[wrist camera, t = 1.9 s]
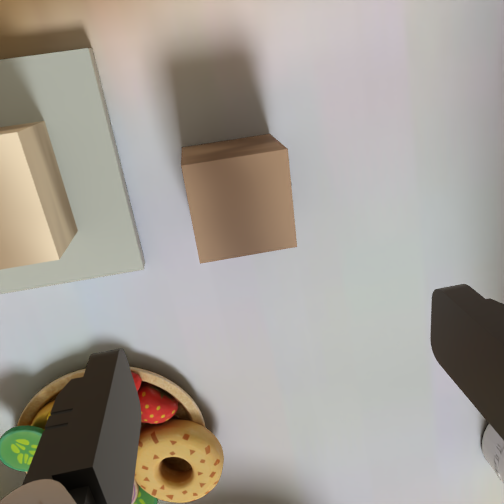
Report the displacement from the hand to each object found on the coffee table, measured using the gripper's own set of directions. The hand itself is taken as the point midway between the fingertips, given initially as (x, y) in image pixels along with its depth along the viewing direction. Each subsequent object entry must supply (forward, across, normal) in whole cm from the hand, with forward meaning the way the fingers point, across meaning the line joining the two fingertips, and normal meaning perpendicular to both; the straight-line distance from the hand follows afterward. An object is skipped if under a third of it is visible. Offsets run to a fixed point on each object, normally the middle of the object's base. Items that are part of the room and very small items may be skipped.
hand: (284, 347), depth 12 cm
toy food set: (+17, +11, +17) cm, 26 cm away
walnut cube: (+16, 0, 0) cm, 16 cm away
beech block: (+15, +12, -2) cm, 19 cm away
